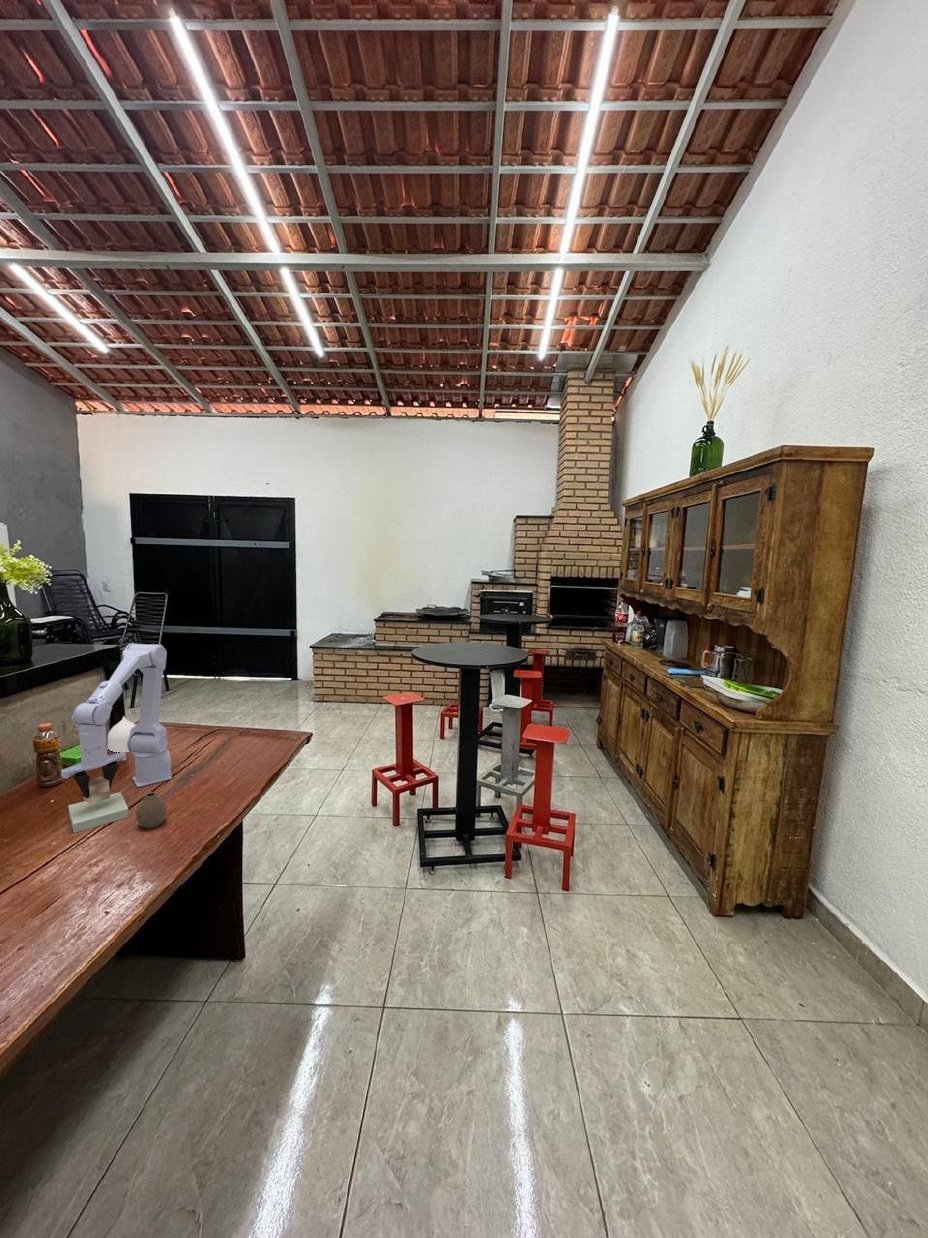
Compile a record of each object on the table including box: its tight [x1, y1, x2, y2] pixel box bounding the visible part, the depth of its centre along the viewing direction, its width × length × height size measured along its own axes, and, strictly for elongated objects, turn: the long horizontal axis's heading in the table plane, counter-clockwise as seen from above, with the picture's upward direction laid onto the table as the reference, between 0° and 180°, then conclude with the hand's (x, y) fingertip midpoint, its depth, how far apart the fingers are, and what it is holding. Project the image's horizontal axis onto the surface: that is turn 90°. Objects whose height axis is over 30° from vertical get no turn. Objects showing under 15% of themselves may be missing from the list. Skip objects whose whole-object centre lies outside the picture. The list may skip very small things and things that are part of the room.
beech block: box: [83, 776, 111, 804], centre depth 135 cm, size 4×4×5 cm
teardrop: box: [107, 715, 137, 753], centre depth 179 cm, size 11×11×12 cm
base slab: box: [67, 791, 130, 834], centre depth 135 cm, size 12×12×2 cm
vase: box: [135, 791, 168, 829], centre depth 132 cm, size 7×7×9 cm
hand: (97, 793), depth 135 cm, fingers closed on beech block, 4 cm apart
